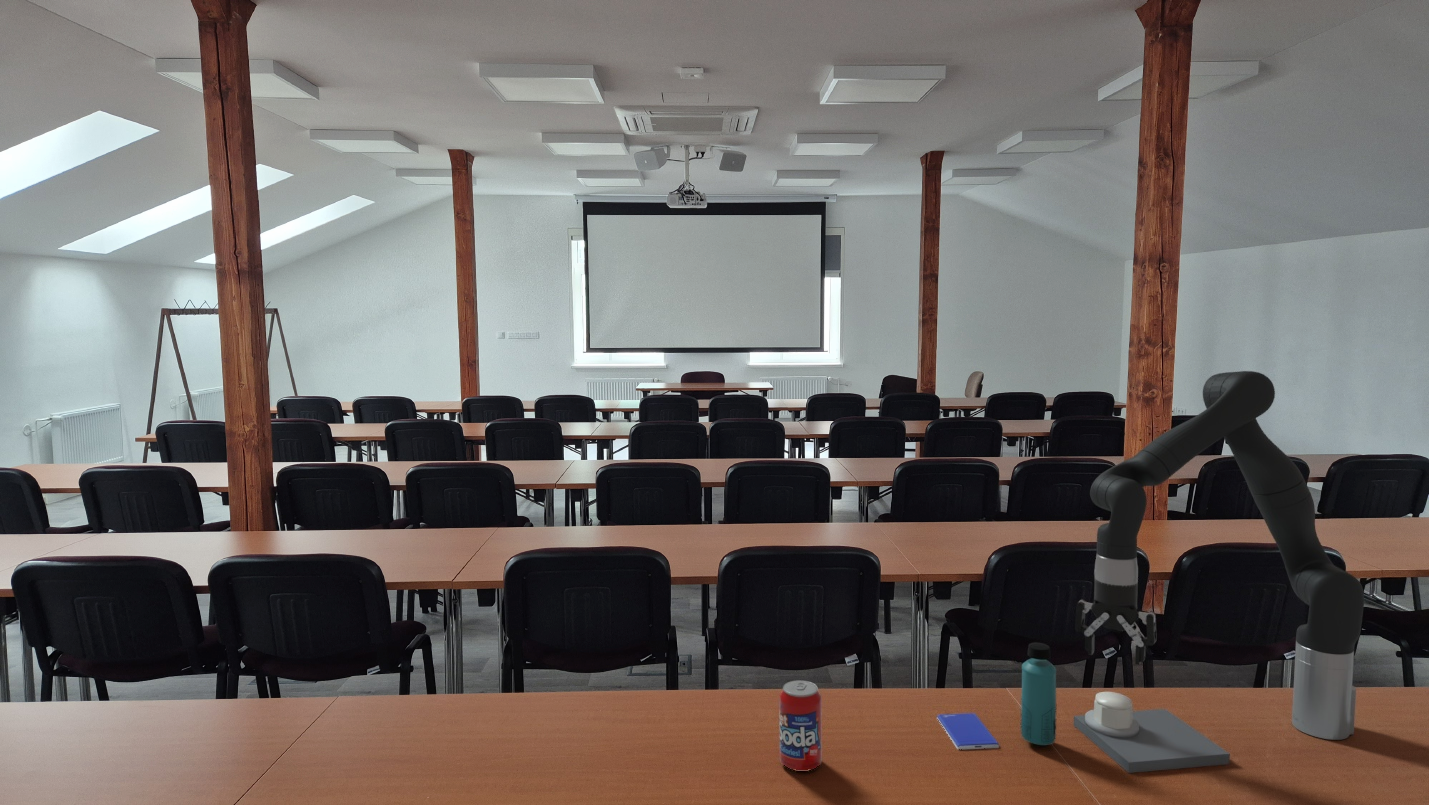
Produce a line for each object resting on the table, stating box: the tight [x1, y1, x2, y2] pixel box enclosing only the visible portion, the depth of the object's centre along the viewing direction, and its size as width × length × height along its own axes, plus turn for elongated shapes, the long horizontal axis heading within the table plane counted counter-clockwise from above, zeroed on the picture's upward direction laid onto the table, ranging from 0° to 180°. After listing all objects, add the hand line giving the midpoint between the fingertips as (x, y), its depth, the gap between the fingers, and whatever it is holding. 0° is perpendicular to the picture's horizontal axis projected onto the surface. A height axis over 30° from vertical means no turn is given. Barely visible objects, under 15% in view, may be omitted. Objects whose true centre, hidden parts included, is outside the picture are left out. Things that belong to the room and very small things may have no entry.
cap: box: [1093, 691, 1134, 729], centre depth 162 cm, size 6×6×4 cm
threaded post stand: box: [1073, 708, 1231, 774], centre depth 159 cm, size 20×18×6 cm
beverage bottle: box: [1019, 642, 1058, 746], centre depth 159 cm, size 6×7×20 cm
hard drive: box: [936, 712, 1000, 751], centre depth 165 cm, size 2×8×12 cm
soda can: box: [778, 679, 823, 770], centre depth 153 cm, size 8×8×15 cm
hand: (1114, 658), depth 161 cm, fingers open, 8 cm apart
